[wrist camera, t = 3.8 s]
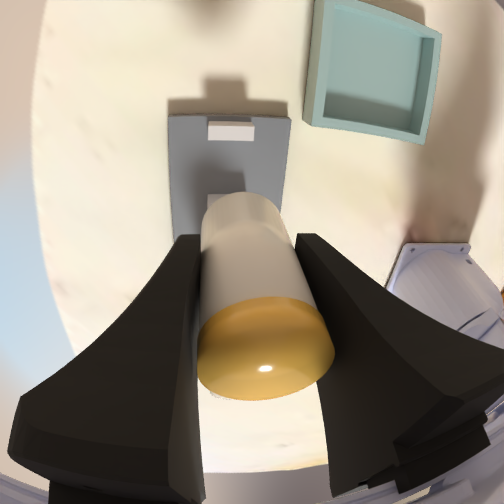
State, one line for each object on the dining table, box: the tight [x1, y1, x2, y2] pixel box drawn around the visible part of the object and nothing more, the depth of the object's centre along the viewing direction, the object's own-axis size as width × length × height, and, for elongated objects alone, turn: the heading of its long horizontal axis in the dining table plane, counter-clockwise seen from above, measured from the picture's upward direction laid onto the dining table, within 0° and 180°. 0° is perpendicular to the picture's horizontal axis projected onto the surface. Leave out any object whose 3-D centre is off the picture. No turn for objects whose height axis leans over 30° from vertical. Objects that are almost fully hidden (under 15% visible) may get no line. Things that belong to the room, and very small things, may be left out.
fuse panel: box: [168, 114, 291, 243], centre depth 21 cm, size 7×21×2 cm, turn 176°
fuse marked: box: [197, 192, 335, 401], centre depth 9 cm, size 3×3×6 cm
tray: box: [303, 0, 442, 145], centre depth 14 cm, size 8×8×2 cm
